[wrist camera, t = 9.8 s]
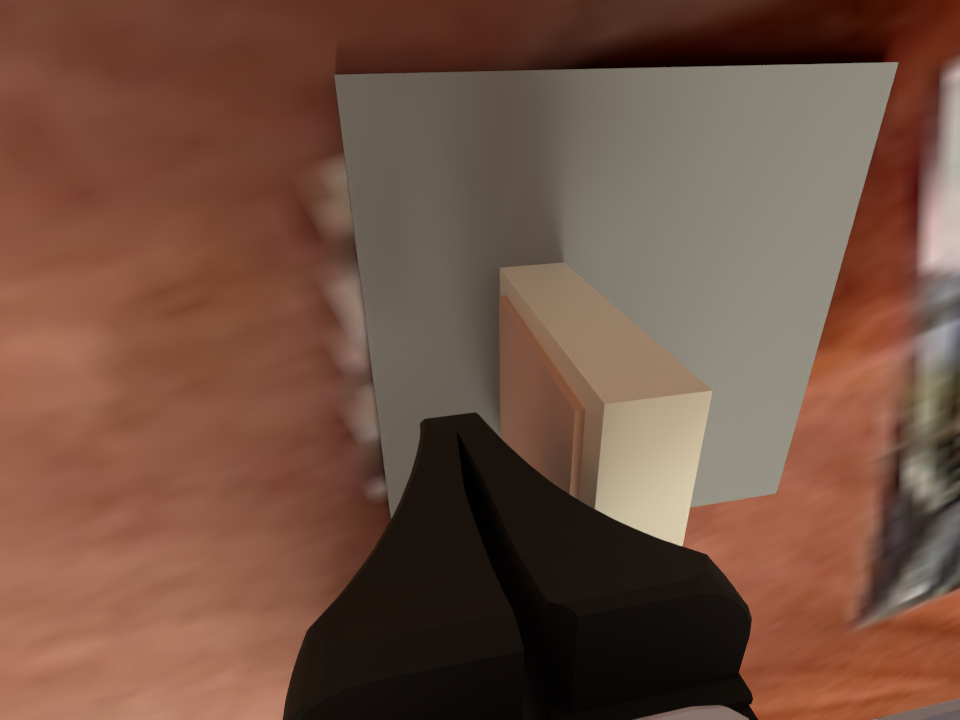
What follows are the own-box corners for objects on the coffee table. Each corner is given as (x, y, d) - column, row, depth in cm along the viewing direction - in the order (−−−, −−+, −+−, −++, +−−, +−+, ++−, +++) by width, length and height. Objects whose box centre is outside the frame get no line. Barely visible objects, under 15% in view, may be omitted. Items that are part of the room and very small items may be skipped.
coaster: (556, 427, 19) (667, 622, 12) (495, 435, 19) (574, 640, 12) (563, 262, 17) (712, 390, 10) (493, 267, 16) (593, 405, 9)
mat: (768, 485, 23) (776, 493, 23) (394, 545, 21) (395, 555, 20) (883, 62, 16) (898, 62, 16) (334, 74, 14) (334, 74, 13)
